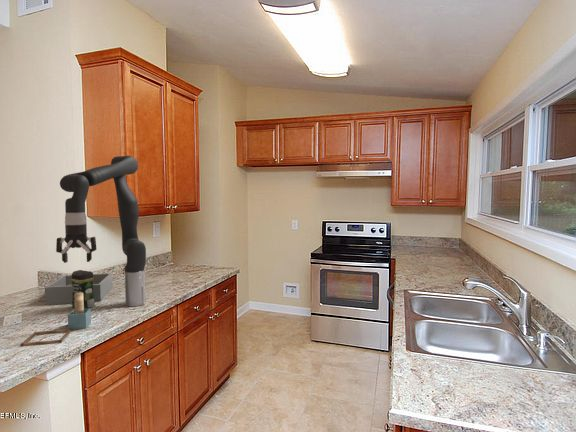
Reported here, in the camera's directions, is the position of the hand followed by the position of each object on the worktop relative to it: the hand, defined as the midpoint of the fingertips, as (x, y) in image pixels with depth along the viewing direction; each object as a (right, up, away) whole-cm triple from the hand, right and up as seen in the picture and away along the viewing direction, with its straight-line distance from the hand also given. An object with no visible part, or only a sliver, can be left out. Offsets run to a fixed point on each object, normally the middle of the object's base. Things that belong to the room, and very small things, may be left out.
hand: (77, 262), depth 142 cm
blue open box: (0, -28, +2) cm, 28 cm away
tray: (-5, -29, -10) cm, 31 cm away
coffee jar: (-14, -27, +27) cm, 40 cm away
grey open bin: (-26, -25, +46) cm, 58 cm away
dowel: (0, -27, +2) cm, 27 cm away
